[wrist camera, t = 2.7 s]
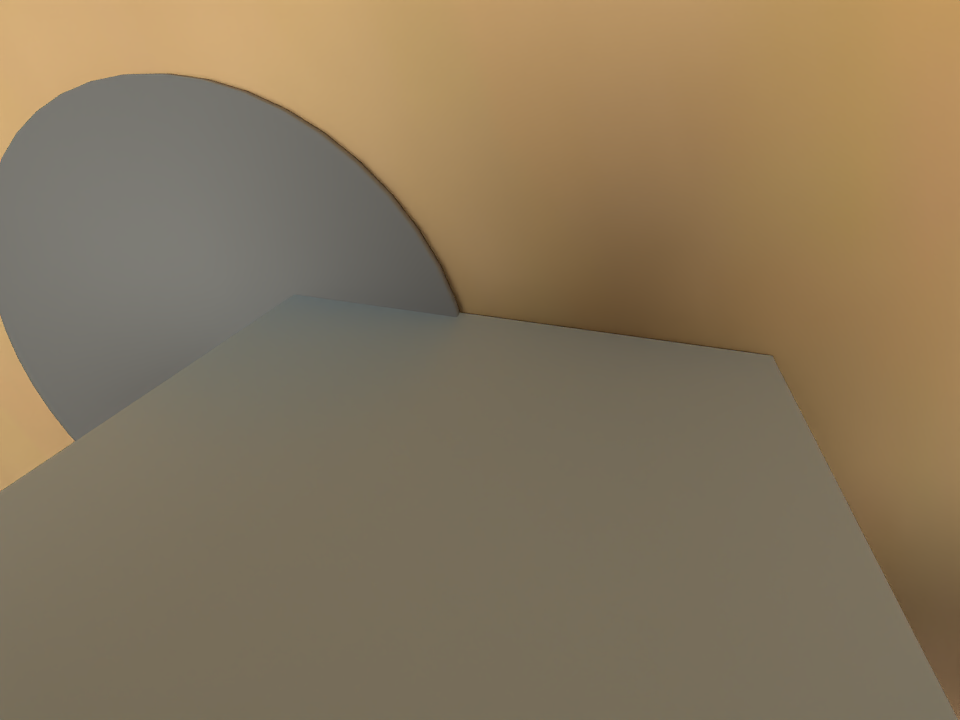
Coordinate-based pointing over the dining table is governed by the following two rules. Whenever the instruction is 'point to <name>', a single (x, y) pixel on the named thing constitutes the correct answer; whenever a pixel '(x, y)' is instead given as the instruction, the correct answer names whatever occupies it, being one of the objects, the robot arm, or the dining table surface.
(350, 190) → the circle
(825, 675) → the gray-blue matte cube
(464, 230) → the dining table surface
